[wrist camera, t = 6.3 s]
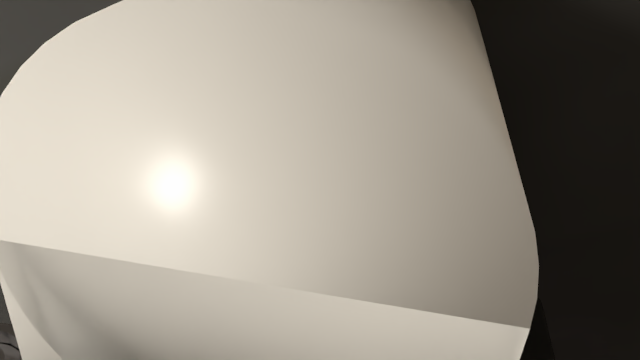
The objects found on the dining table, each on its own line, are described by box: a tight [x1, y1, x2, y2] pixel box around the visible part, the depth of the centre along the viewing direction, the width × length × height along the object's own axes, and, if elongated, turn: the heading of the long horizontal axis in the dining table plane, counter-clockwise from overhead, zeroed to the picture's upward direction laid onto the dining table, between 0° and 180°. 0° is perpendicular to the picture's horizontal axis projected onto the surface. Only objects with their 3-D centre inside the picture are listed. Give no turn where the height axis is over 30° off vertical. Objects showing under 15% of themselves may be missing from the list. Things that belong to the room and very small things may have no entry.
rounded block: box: [0, 0, 539, 360], centre depth 9 cm, size 11×4×6 cm, turn 177°
